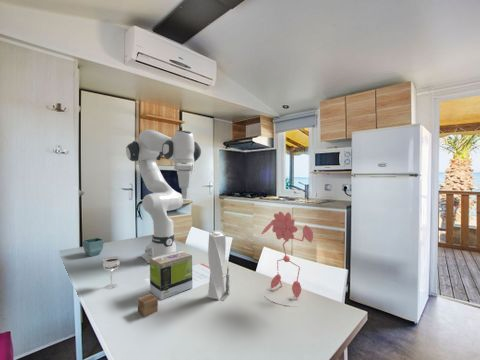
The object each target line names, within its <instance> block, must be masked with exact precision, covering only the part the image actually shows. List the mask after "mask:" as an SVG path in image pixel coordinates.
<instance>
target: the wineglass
mask: <svg viewBox="0 0 480 360" xmlns="http://www.w3.org/2000/svg"><path fill="white" fill-rule="evenodd" d="M120 258H121V257H119V256H109V257H108V256H107V257H106V258H103V259H102V262H103V263H102V268H103V269H104V270H105V272H109V274H110V283H109V284H107V285H105V286H104V288H105V289H107V290H111V289H112V290H113V289H115V288H118V285H119V284H118V283H113V273H114V271H116V270H117V269H118V268H119V267H120V265H121V261H120Z"/></svg>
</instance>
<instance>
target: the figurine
mask: <svg viewBox="0 0 480 360" xmlns="http://www.w3.org/2000/svg"><path fill="white" fill-rule="evenodd" d="M273 217H274V219H272V220H271V221H270V222H269V223H268V224H267V225H266V226H265V227H264V228H263V230H262V231H261V235H263V234H265V233H266V232H268V231H269V230H270V229H271V228H272V230H271V231H272V233H275V237H276V239H277V240H281V239H283V240H284V242H282V247H283V248H282V249H283V252H284V255H283V258H281V259H278V260H277V263H276V264H277V266H276V267H277V270H279V261H280V262H281V261H284V262H285V263H289V262H290V263H291V264H292V265H294V266H296V267H298V271H297V277H296V280H295V281H294V282H293V284H292V285H291V291H292V294H293V296H294V297H295V299H298V298H299V296H300V295H301V293H302V285H301V283H300V282H299V281H298V280H299V274H300V270H301V269H300V268H301V267H300V266H299V265H298V264H295V262H292V261H291V259H290V256H289V255H287V252H286V248H285V244H286V243H287V242H289V240H295V241H296V240H297V241H299V242H304V239H305V240H306V241H308V242H309V243H312V242H313V240H314V232H313V230H312V228H311V227H310V226H308V225H307V224H305V225H304V226H303V228H302V238H301V239H299V238H297V237H295V235H294V233H296V232H298V230H299V229H298V227H297V226H296V225H295V220H294V218H292V215H291V213H290V212H289V211H288V212H287V213H283V212H282V211H279V212H278V213H274V214H273ZM281 280H282V277H281V274H279V273H277V274H276V275H275V276H274V277H272V279H271V281H270V288H269V289H270V290H271V289H274V288H276V287H277V286H278V285H279V284H280V287H281V286H282V287H283V284H282V281H281ZM263 296H264V295H263ZM264 298H265V299H267V300H268V301H270V302H271V303H272V304H277V305H280V306H281V305H282V304H280V303H278V302H274V301H272V300H270V299H269V298H267V297H266V296H264ZM283 306H284V307H289V305H285V304H283Z"/></svg>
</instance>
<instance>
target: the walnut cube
mask: <svg viewBox="0 0 480 360" xmlns="http://www.w3.org/2000/svg"><path fill="white" fill-rule="evenodd" d="M158 304H159V298H158V297H157V296H155V295H154V294H153V293H149V294H145V295H144V296H141V297H137V313H138V314H139V315H141V316H142V318H147V317H149V316H151V315H153V314H155V313H158V310H159V309H158V307H159V306H158Z"/></svg>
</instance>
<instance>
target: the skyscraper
mask: <svg viewBox="0 0 480 360" xmlns="http://www.w3.org/2000/svg"><path fill="white" fill-rule="evenodd" d="M208 233H209V234H208V242H207V243H208V249H207V256H208V258H207V259H208V267H209V271H210V272H209V281H208V291H207V292H208V293H207V299H213V300H218V301H220V302H221V301H222V302H224V301H225V300H226V299H227V297H228V296H230V294H231V292H230V288H231V285H230V273H229V272H230V268H229V267H227V268H226V274H225V277H224V270H223V268H224V263H225V261H226V252H227V248H226V247H227V243H226V242H227V240H226V236H227V235H226V233H224V231H222V230H212V231H210V232H208ZM224 278H226V280H225V279H224Z"/></svg>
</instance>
